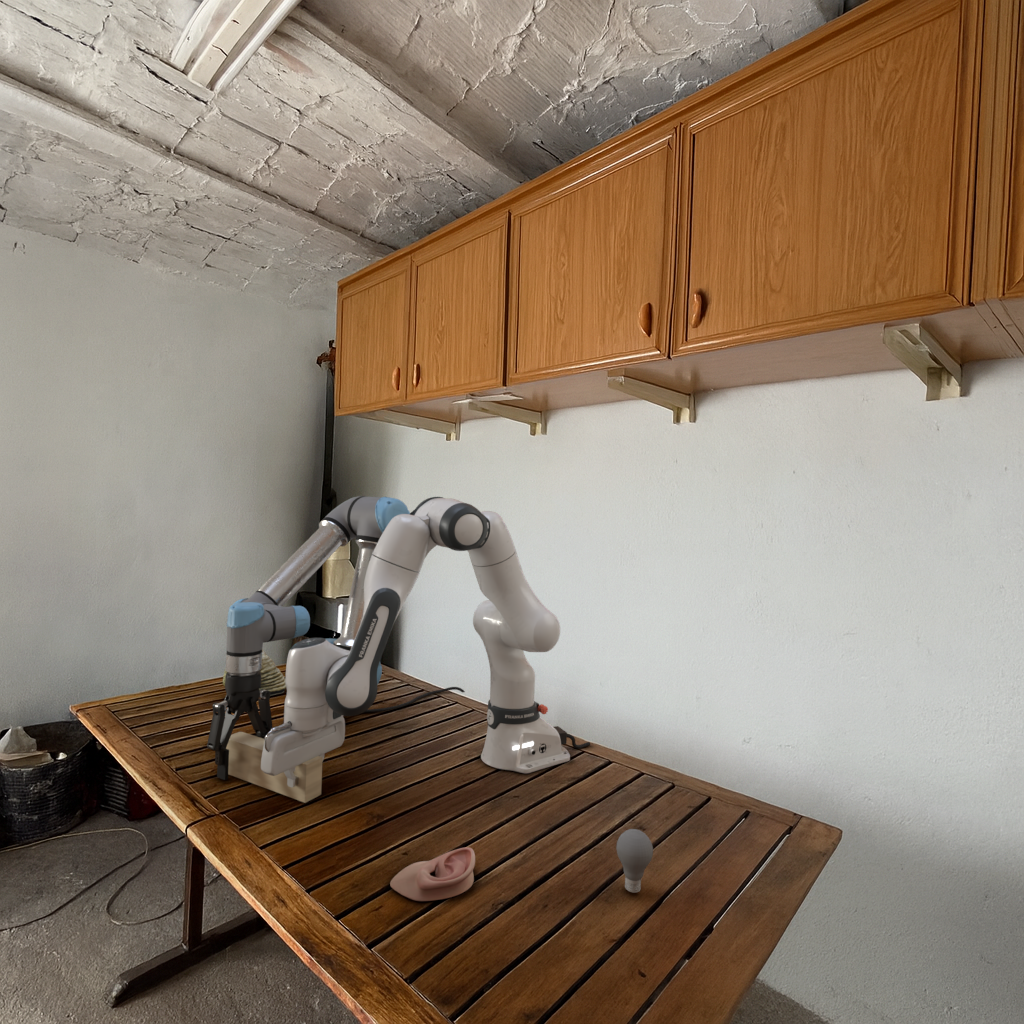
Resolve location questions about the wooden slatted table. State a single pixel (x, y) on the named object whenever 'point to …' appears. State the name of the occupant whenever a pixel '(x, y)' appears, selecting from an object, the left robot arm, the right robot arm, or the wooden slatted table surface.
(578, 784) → the wooden slatted table surface
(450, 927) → the wooden slatted table surface
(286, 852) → the wooden slatted table surface
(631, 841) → the light bulb
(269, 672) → the fossil
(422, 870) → the anatomical model
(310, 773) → the ash beam
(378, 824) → the wooden slatted table surface
